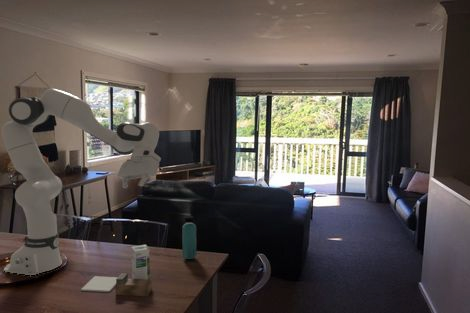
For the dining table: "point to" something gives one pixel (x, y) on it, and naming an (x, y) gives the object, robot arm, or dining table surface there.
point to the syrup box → (140, 262)
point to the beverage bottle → (189, 238)
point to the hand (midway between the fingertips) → (132, 186)
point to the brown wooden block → (132, 286)
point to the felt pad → (100, 284)
